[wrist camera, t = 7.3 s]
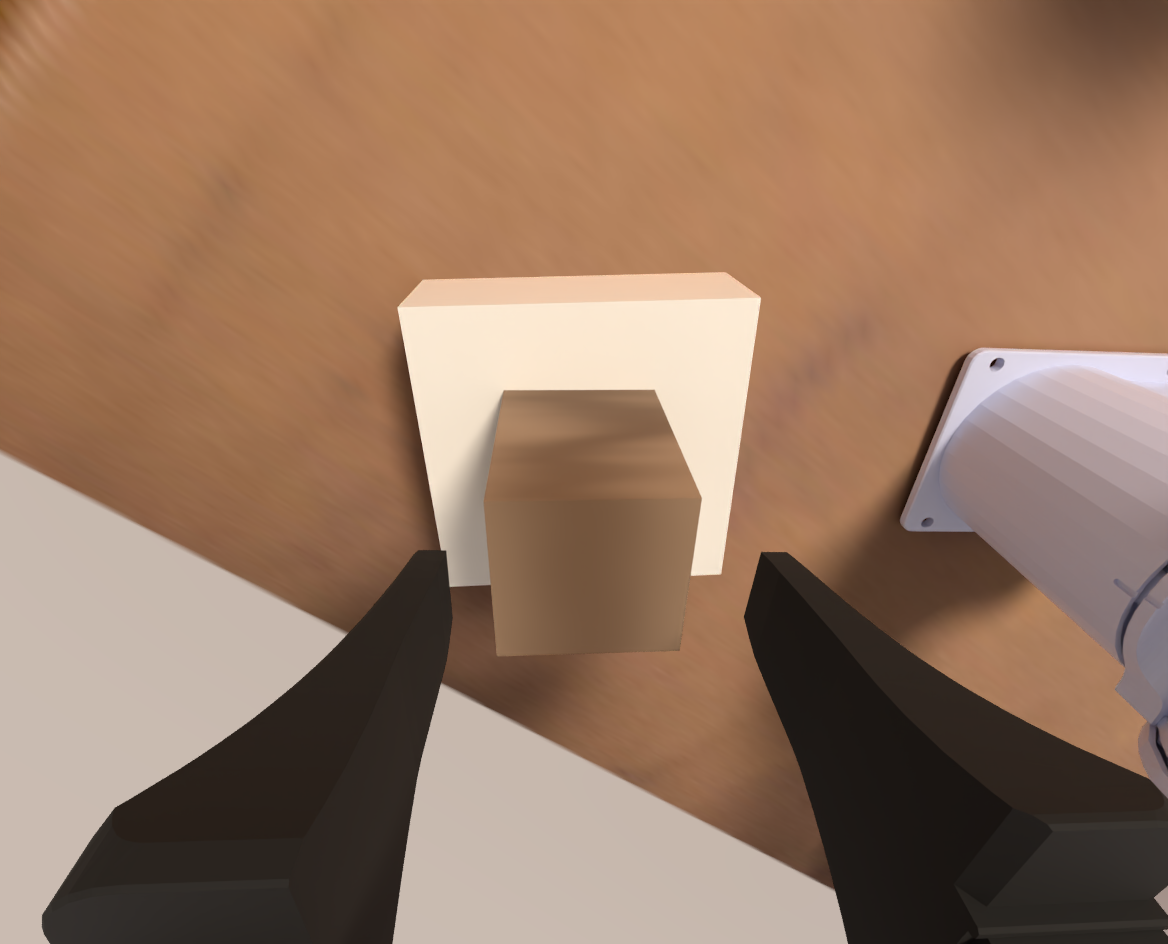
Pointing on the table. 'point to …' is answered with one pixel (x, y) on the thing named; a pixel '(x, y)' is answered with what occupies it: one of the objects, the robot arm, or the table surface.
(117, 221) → the table surface
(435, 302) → the ceramic base
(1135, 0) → the table surface
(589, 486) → the walnut block
